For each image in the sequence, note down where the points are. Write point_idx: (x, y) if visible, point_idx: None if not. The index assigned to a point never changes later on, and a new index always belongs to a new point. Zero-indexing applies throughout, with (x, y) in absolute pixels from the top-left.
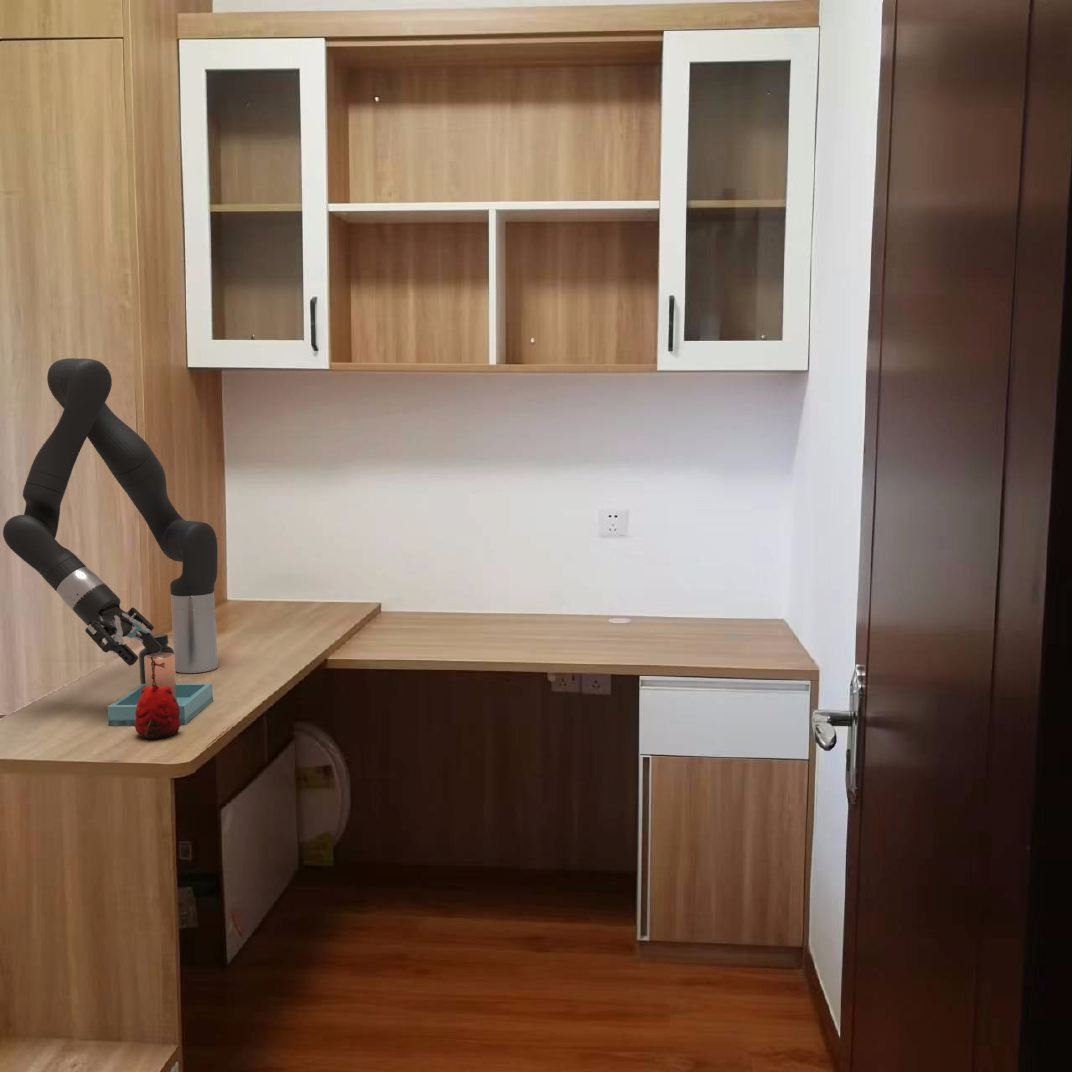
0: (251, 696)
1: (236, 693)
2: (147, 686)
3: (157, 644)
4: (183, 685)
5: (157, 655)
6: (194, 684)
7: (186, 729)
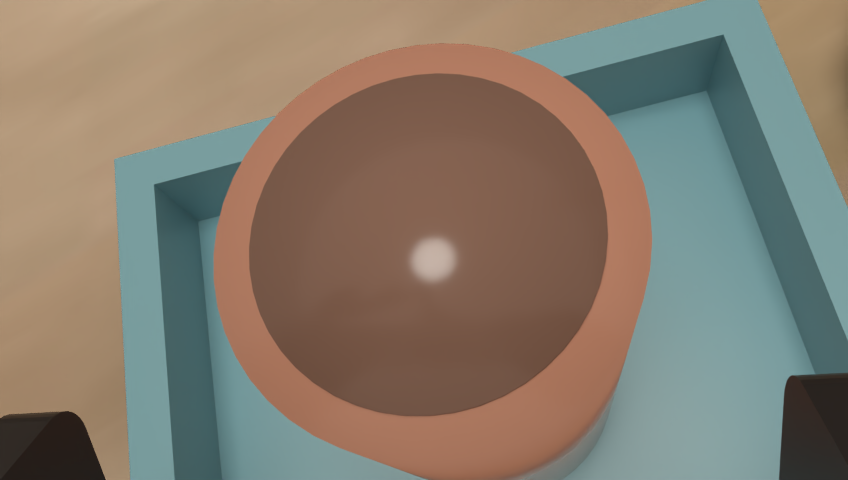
0: (80, 47)
1: (14, 163)
2: (608, 405)
3: (20, 466)
4: (166, 356)
5: (418, 263)
6: (149, 271)
7: (807, 10)
